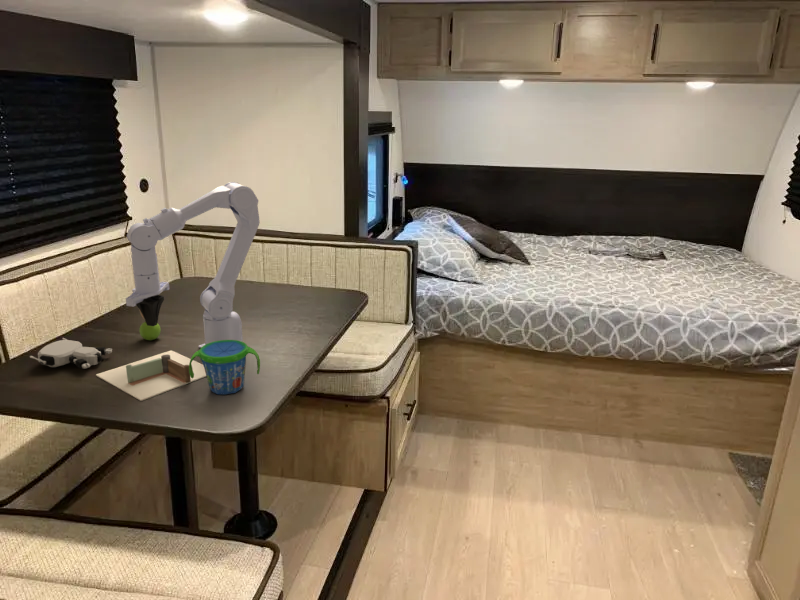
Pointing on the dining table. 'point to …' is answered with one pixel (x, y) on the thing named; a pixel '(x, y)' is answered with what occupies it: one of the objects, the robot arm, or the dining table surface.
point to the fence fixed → (175, 368)
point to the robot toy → (70, 354)
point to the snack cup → (224, 365)
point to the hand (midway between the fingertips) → (152, 324)
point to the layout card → (151, 378)
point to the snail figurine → (149, 330)
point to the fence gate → (144, 370)
